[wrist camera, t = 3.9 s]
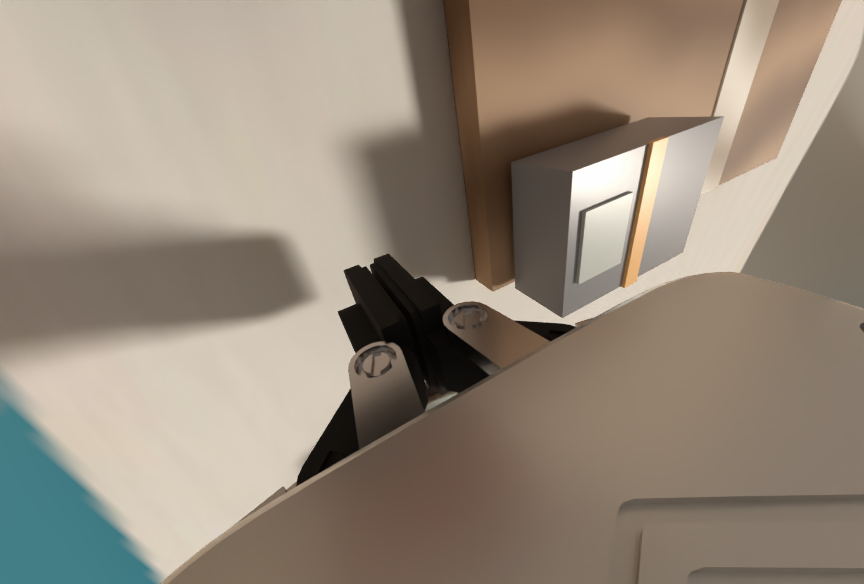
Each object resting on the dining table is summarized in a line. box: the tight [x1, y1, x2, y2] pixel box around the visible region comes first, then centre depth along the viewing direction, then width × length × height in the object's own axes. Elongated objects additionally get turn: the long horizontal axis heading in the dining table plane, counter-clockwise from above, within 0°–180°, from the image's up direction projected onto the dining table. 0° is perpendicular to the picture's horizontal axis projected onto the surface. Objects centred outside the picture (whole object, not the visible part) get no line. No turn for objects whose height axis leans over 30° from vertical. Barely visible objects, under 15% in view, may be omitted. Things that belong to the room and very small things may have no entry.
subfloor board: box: [444, 0, 842, 291], centre depth 14 cm, size 20×26×2 cm
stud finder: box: [511, 116, 724, 318], centre depth 14 cm, size 6×8×3 cm
